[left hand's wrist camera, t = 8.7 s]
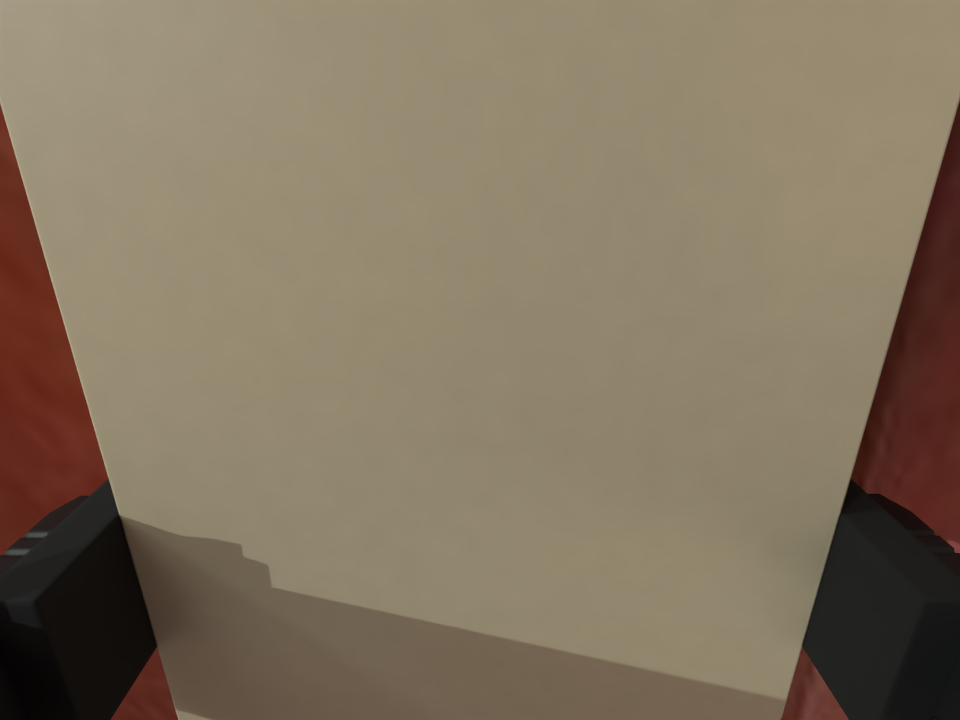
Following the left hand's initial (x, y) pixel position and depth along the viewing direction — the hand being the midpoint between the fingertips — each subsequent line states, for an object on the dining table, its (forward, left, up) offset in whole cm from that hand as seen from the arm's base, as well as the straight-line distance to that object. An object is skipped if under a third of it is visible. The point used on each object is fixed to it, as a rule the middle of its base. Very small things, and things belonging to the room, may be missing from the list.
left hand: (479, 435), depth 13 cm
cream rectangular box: (+5, -1, -4) cm, 6 cm away
